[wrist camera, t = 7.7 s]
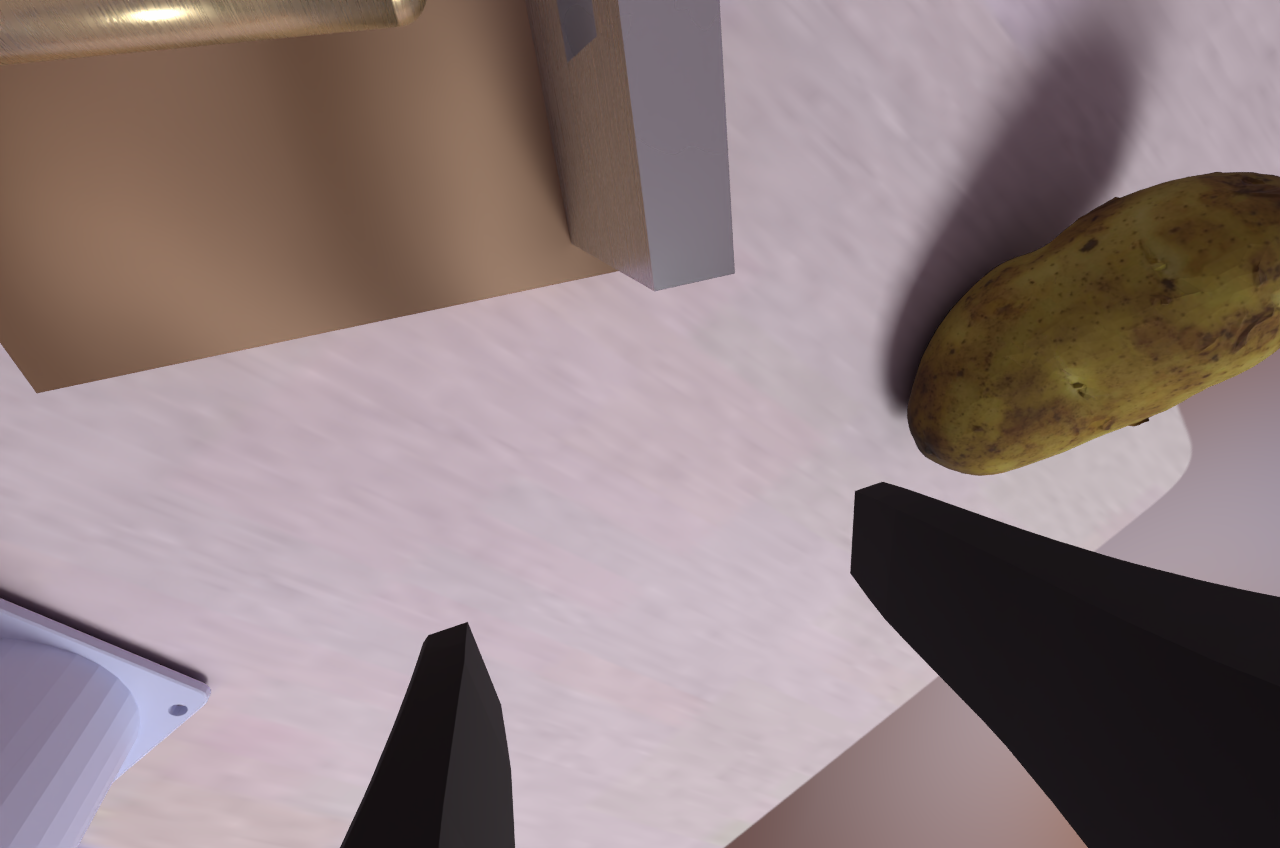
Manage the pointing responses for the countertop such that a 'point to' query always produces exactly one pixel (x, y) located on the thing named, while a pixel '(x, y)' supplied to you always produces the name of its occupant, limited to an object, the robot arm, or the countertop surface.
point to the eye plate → (639, 133)
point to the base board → (272, 190)
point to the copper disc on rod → (178, 24)
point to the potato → (1104, 324)
